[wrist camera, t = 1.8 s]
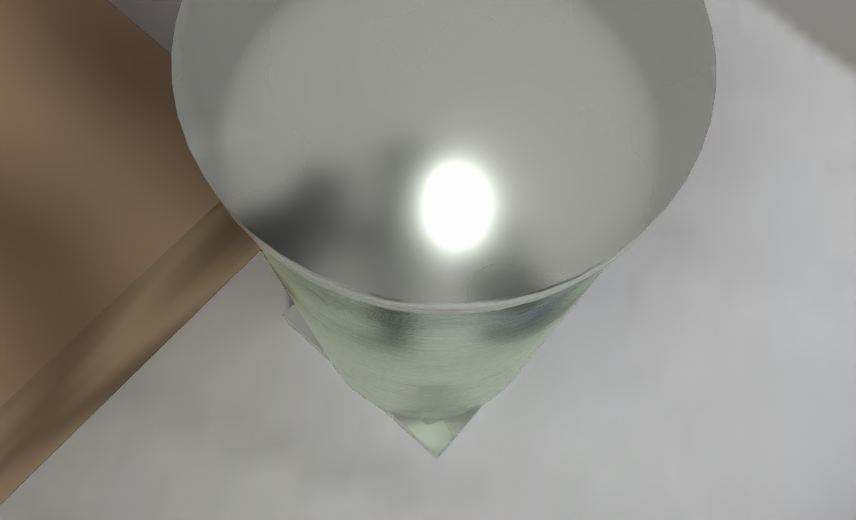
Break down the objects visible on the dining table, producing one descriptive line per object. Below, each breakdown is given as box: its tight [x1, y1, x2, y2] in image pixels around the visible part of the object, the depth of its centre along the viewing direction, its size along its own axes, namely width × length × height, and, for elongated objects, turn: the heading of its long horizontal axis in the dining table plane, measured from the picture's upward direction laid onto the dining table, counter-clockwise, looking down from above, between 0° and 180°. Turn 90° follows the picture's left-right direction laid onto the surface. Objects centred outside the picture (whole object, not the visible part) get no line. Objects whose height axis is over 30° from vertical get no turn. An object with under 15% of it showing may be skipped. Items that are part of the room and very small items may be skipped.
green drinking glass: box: [171, 0, 716, 458], centre depth 14 cm, size 6×6×13 cm
